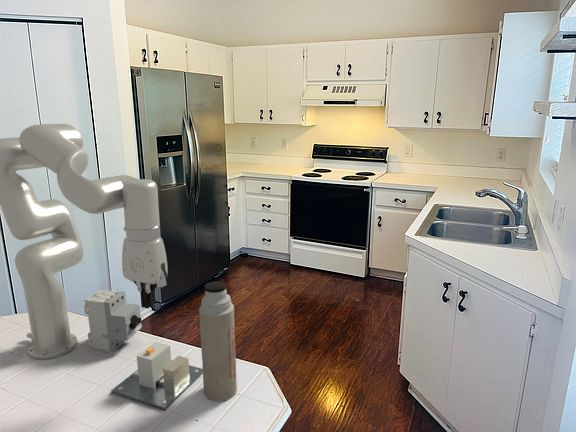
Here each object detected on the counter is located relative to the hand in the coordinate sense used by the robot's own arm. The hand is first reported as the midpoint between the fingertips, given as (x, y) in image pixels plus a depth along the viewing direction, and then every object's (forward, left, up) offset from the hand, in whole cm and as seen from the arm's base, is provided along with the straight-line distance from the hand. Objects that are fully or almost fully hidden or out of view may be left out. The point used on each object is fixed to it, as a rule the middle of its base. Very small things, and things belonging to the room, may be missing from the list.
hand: (148, 305), depth 102 cm
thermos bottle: (+17, +3, -21) cm, 28 cm away
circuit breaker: (-22, +10, -21) cm, 32 cm away
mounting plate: (+1, 0, -21) cm, 21 cm away
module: (0, 0, -20) cm, 20 cm away
